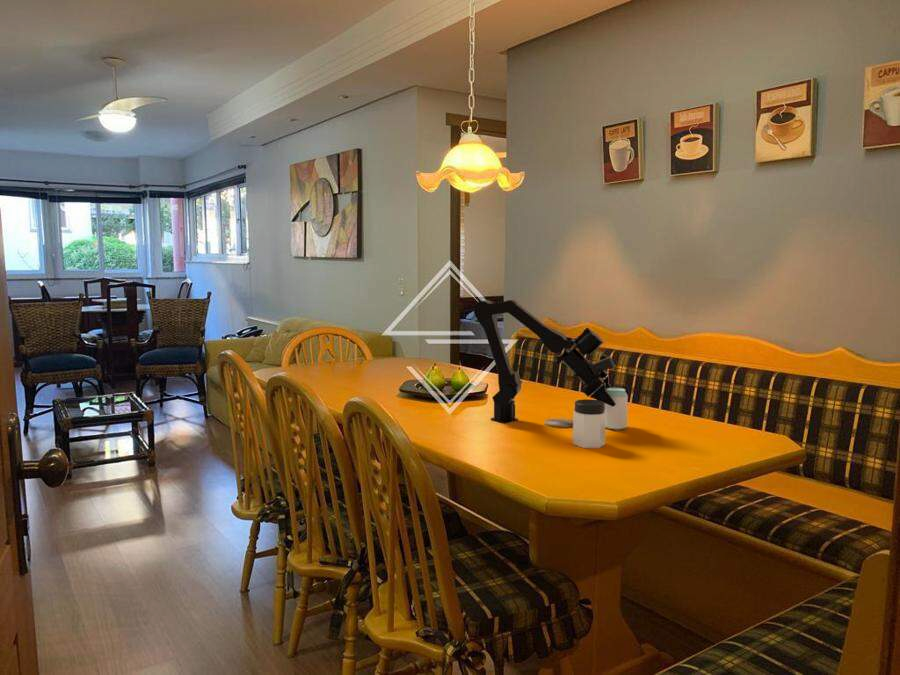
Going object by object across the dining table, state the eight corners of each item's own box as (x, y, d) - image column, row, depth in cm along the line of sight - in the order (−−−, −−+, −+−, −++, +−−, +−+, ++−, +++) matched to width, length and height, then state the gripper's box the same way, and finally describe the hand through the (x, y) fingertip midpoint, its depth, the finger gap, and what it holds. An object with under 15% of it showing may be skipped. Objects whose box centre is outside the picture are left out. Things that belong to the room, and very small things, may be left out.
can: (629, 426, 208) (630, 388, 207) (623, 431, 202) (624, 392, 201) (607, 424, 212) (608, 386, 210) (600, 428, 206) (600, 390, 204)
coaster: (569, 429, 205) (569, 427, 205) (539, 425, 210) (539, 423, 210) (581, 422, 214) (581, 420, 214) (551, 418, 219) (551, 417, 219)
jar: (611, 446, 186) (612, 403, 185) (588, 450, 182) (589, 406, 181) (589, 438, 194) (590, 397, 193) (567, 442, 190) (567, 400, 189)
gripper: (595, 351, 197) (633, 390, 195) (601, 343, 215) (636, 379, 212) (568, 376, 200) (605, 415, 198) (576, 367, 218) (610, 402, 216)
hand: (615, 402), depth 206 cm, fingers open, 9 cm apart
